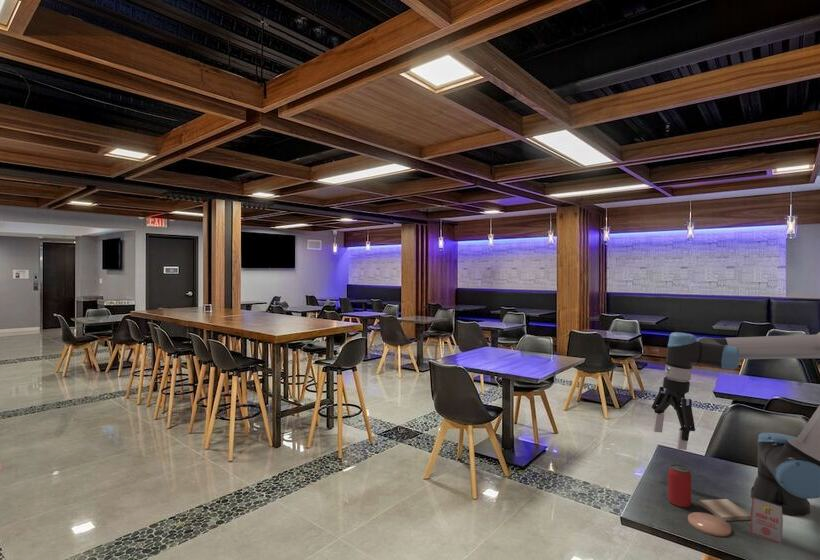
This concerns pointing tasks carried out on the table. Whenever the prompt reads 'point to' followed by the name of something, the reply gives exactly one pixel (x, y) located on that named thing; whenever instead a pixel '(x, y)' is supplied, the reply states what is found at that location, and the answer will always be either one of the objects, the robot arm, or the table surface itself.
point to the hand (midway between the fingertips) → (669, 440)
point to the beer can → (679, 485)
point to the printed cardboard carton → (767, 520)
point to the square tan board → (725, 509)
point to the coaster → (709, 524)
